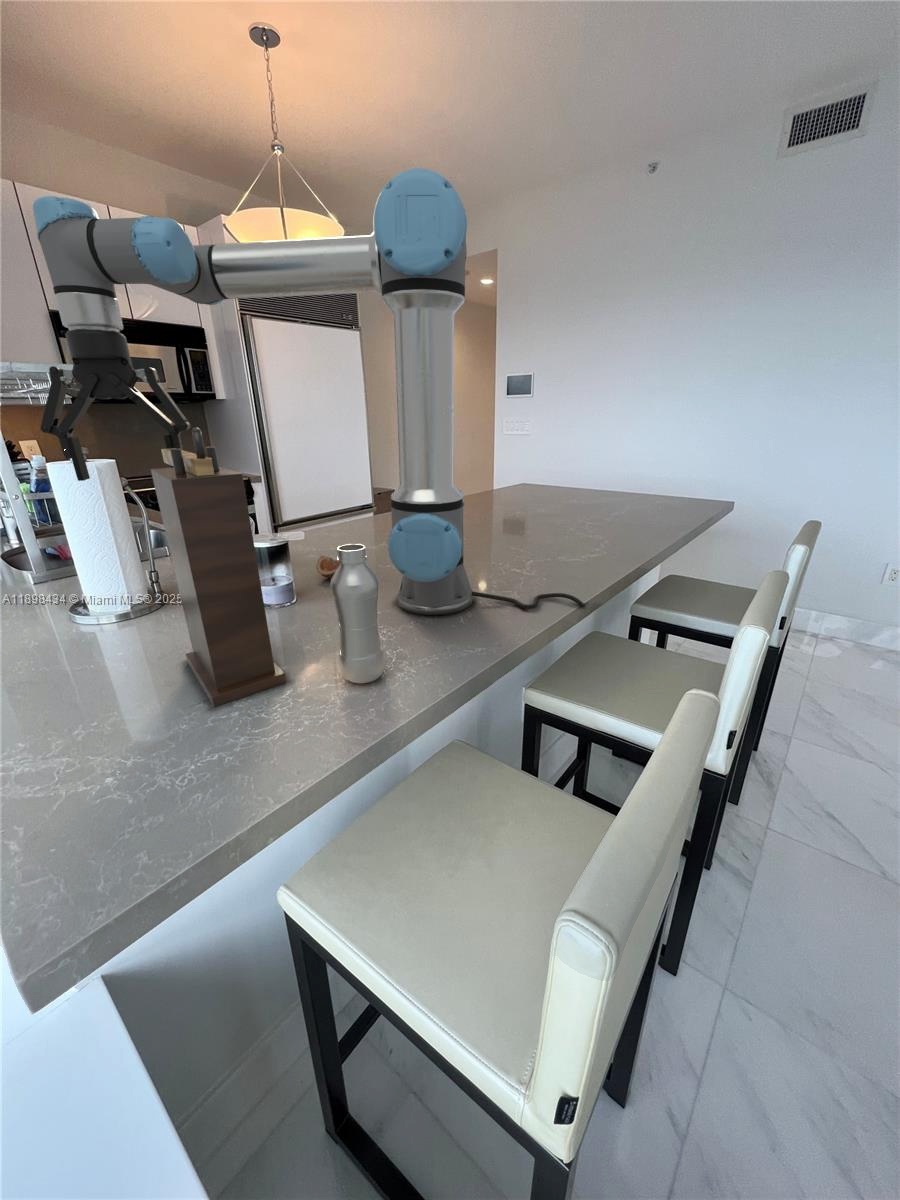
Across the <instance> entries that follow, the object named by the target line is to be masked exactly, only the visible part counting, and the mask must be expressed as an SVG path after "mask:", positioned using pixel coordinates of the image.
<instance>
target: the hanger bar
mask: <svg viewBox="0 0 900 1200" xmlns="http://www.w3.org/2000/svg"><path fill="white" fill-rule="evenodd" d="M191 435H192V441H193V445H194V451H195V453H194V452H190V451H186V450H184V449H183V450H181V451H182V456H183V461H184V466H185V471H186V472H188V473H191V474H193V475H196V476H207V475H214V469H213V464H212V459H211V458H209V457H207V455H206V450H205V445H204V439H203V433H202V430H201V429H200V428H199V427H193V428H192V429H191ZM172 449H176V448H172ZM160 450H161V455H162V460H163V463H164V464H167V465H169V466H170V465H171V466H173V461H172V456H171V452H170V449H167V448H161V449H160ZM171 466H170V467H171Z"/></svg>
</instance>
